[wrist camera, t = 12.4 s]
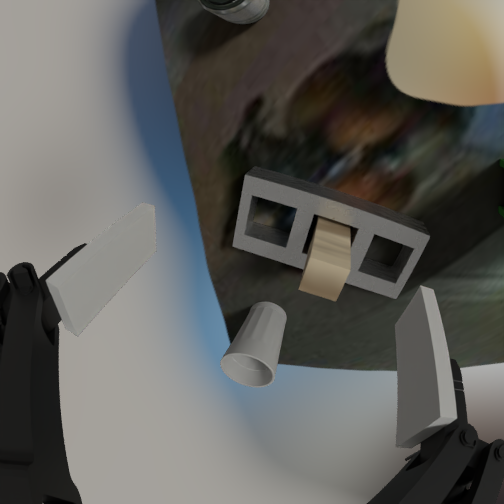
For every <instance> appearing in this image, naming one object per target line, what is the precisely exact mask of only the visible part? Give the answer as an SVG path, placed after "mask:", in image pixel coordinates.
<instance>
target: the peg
mask: <svg viewBox="0 0 504 504" xmlns="http://www.w3.org/2000/svg"><path fill="white" fill-rule="evenodd" d="M350 270H351V242H350V225H347V224H344V223H341V222H338V221H335V220H332V219H329V218H326V217H323V216H319V215H318V218H317V221H316V225H315V228H314V231H313V234H312V238H311V242H310V246H309V250H308V254H307V258H306V262H305V266H304V270H303V274H302V278H301V282H300V286H299V290H302V291H305V292H308V293H311V294H314V295H317V296H321V297H324V298H327V299H330V300H333V301H336V300H337V298H338V296H339V294H340V292H341V290H342V288H343V285H344V283H345V281H346V279H347V277H348V275H349V273H350Z"/></svg>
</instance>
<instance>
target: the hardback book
mask: <svg viewBox="0 0 504 504" xmlns="http://www.w3.org/2000/svg"><path fill="white" fill-rule="evenodd" d="M500 166H501V167H503V168H504V159H500ZM498 212H499V213H500V214H501V215H502V217H503V218H504V206H499V208H498Z"/></svg>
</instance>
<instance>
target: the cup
mask: <svg viewBox="0 0 504 504" xmlns="http://www.w3.org/2000/svg"><path fill="white" fill-rule="evenodd" d="M286 320H287V317H286V314H285V312H284V310H283V309H282V308H281V307H279V306H278V305H276V304H274V303H271V302H258V303H256V304H254V305H253V306H252V307H251V309H250V312H249V314H248V316H247V318H246V320H245V321H244V323H243V325H242V327H241V328H240V330H239V332H238V334H237V335H236V337H235V339H234V340H233V342H232V343H231V345H230V346H229V348H228V350H227V351H226V353H225V354H224V356H223V358H222V359H221V362H220V365H221V368H222V370H223V372H224V373H225V374H226V375H227V376H228V377H229V378H231V379H232V380H234V381H236V382H238V383H240V384H243V385H246V386H250V387H264V386H267V385H270V384H271V383H272V382H273V381H274V378H275V374H276V368H277V363H278V358H279V353H280V348H281V343H282V338H283V332H284V327H285V323H286Z"/></svg>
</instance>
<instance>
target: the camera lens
mask: <svg viewBox="0 0 504 504" xmlns="http://www.w3.org/2000/svg"><path fill="white" fill-rule="evenodd" d="M199 3H200V4H201V6H202V7H203V8H204V9H206V10H207V11H209V12H211V13H213V14H215V15H217V16H219V17H221V18H223V19H225V20H226V21H229V22H232V23H237V24H249V23H253V22H256V21H258V20H259V19H261V18H262V17H263V16H264V15H265V14H266V13H267V10H268V8H269V0H199Z"/></svg>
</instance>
